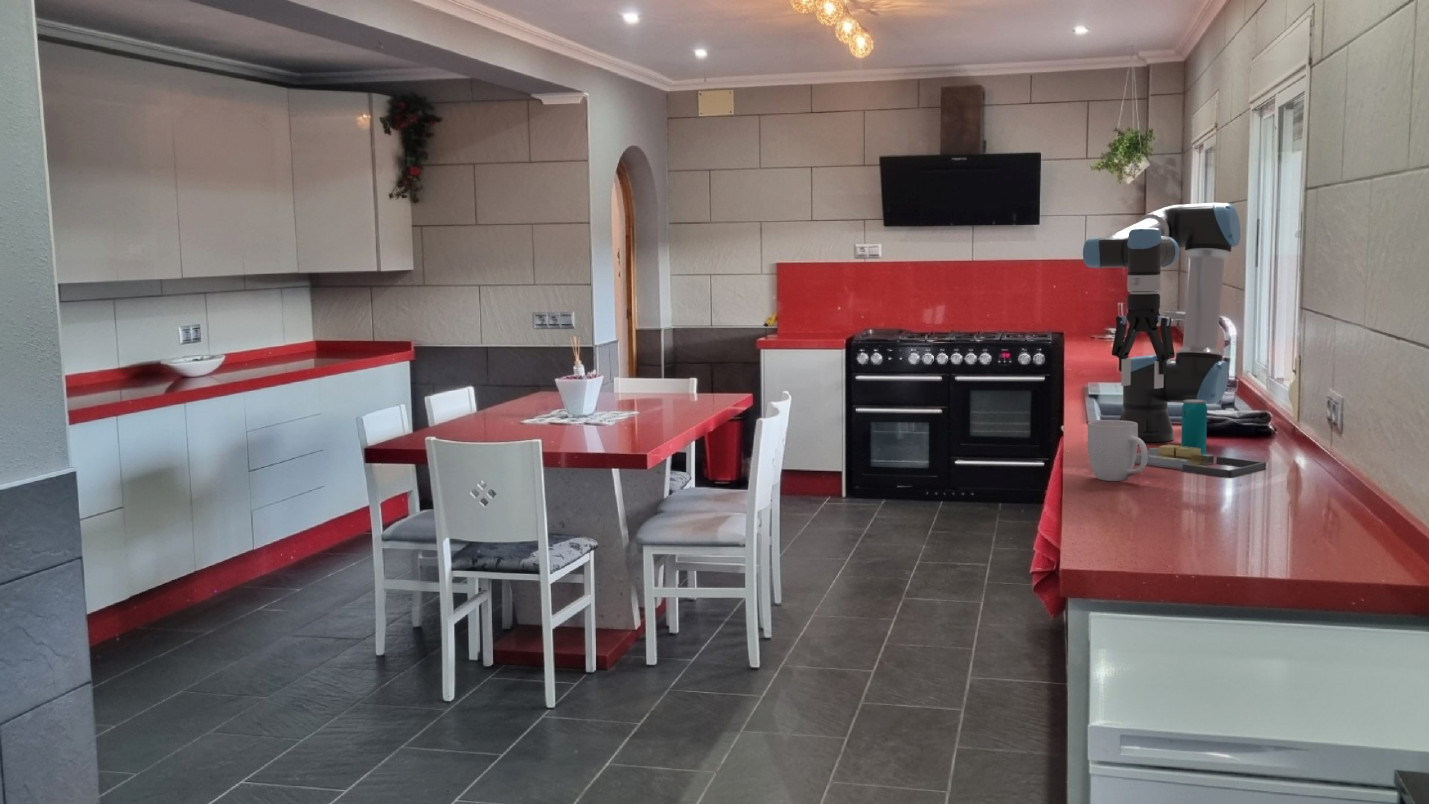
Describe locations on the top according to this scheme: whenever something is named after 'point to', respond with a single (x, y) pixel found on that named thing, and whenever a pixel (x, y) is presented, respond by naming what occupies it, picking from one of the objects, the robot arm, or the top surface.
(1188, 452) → the tan cardboard cube
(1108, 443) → the mug
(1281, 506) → the top surface
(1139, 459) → the slot board
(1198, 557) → the top surface
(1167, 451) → the tan block
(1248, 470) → the tray
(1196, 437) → the beverage can
